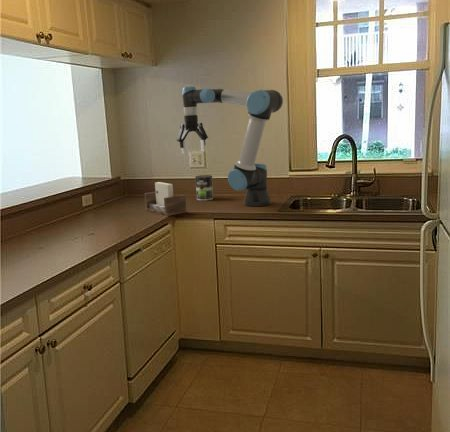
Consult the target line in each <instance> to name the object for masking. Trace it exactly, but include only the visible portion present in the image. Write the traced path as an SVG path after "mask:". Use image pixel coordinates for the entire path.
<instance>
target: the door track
mask: <svg viewBox="0 0 450 432" xmlns="http://www.w3.org/2000/svg"><path fill="white" fill-rule="evenodd" d="M143 195H144V196H143V197H144V208H145V211H148V212H151V213H155V214H158V215H162V216H164V217H169V216H175V215H180V214H186V213H187V202H186V201H187V200H186V195H185V194H179V195H173V196H172V197H166V198H164V206H161V205H157V204H156V191H152V192H145V193H143Z"/></svg>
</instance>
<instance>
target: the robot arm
mask: <svg viewBox="0 0 450 432" xmlns="http://www.w3.org/2000/svg"><path fill="white" fill-rule="evenodd" d="M283 99H284V98H283V95H282V94H281V93H280V92H279V90H276V89H275V90H274V89H258V90H254V91H247V90H237V89H236V90H233V89H225V88H224V89H223V88H202V89H197V88H196V86H184V87H183V88H182V103H183V104H182V105H183V114H184V117H183V118H184V123H183V124H182V123H181V124H180V125H179V127H180V129H179V131H178V134H177V138H176V141H177V142H178V143H179V147H180V148H181V155H183V154H184V155H186V143H185V140H186V138H187V136H188V134H190V132H195V133H196V134H197V135H198V137H199V138H200V140H199V141H200V151H201V152H205V151H206V147H205V146H206V140H207V139H208V138H209V135H208V134H207V132H206V130H205V129H204V128H205V127H204V126H203V122H199V117H198V105H197V104H211V103H218V104H228V105H236V106H237V105H239V106H246V107H247V110H248V111H247V115H248V117H249V119H248V122H247V128H246V131H245V135H244V138H243V143H242V147H241V151H240V155H239V158H238V160H237V161H236V162H235V163H234V166H233V169H232V168H231V170H230V171H229V172H228V174H227V182H228V184H229V186H230V187H231V188H232V189H233V190H235V191H244V190H246V193H245V196H244V199H243V206H245V207H264V206H269V205H271V204H272V202H271V201H272V200H271V199H272V198H271V197H270V193H269V191H268V168H267V165H266V164H265V163H256V159H257V156H258V153H259V148H260V145H261V140H262V137H263V133H264V130H265V126H266V123H267V122H268V121H270V119H271V116H272V113H276V112H278V111H279V110H281V108H282V107H283V104H284V100H283Z"/></svg>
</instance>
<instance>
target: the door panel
mask: <svg viewBox="0 0 450 432" xmlns="http://www.w3.org/2000/svg"><path fill="white" fill-rule="evenodd" d="M173 186H174V184H173V183H167V182H162V181H157V182H154V189H155V190H154V192H156V204H157V205H161V206H164V198H166V197H172V196H174V187H173Z"/></svg>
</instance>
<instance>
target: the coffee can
mask: <svg viewBox="0 0 450 432" xmlns="http://www.w3.org/2000/svg"><path fill="white" fill-rule="evenodd" d="M194 178H195V189H196V190H195V192H196V194H195V195H196V201H203V202H204V201H211V200H213V199H214V195H213V193H214V190H213V189H214V187H213V186H214V185H213V176H212V175H209V174H205V175H203V174H201V175H196V176H194Z"/></svg>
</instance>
